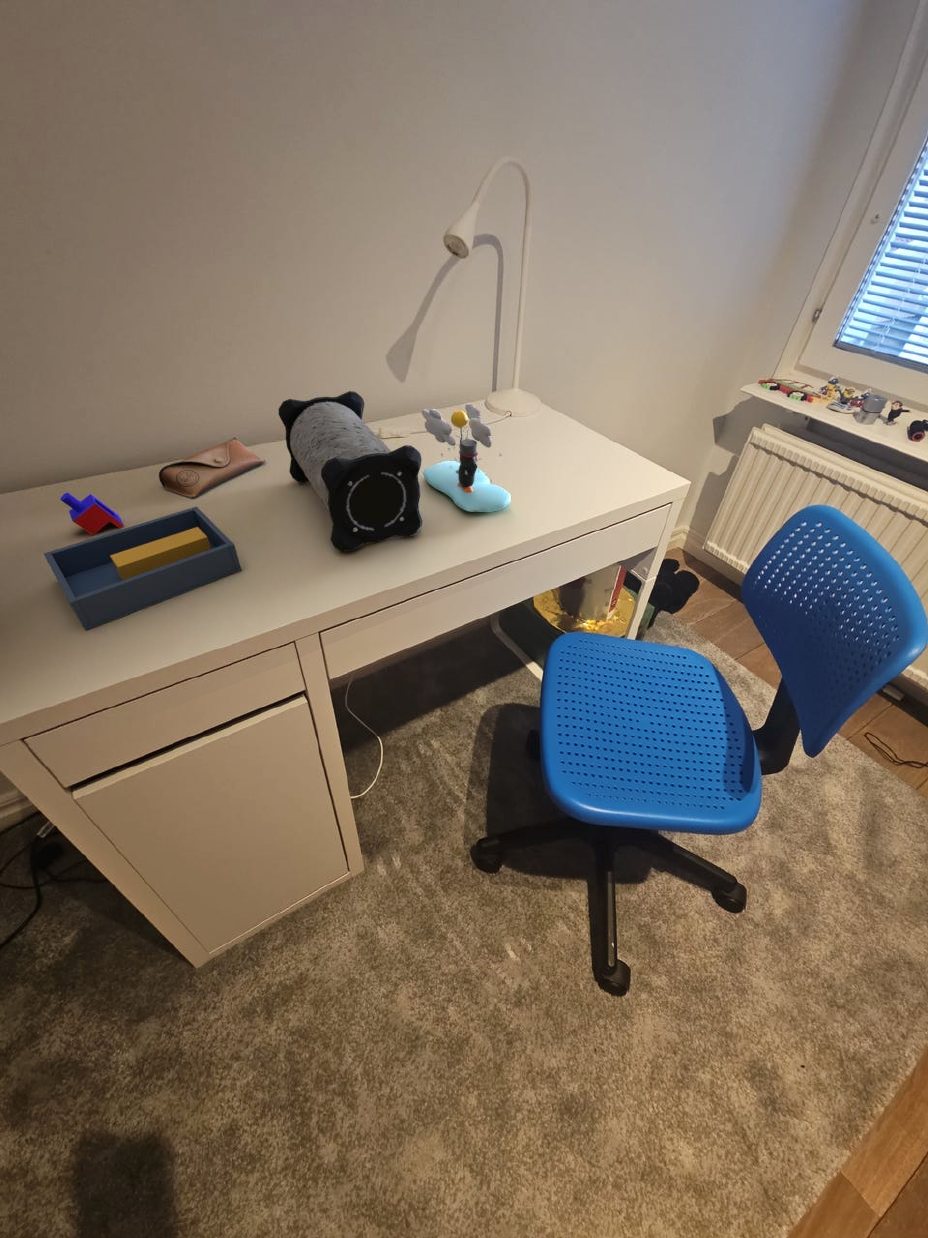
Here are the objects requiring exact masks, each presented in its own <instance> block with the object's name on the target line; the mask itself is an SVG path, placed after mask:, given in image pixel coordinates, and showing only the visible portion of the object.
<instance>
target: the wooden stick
mask: <svg viewBox="0 0 928 1238" xmlns="http://www.w3.org/2000/svg"><path fill="white" fill-rule="evenodd" d="M210 549H211V547H210V544H209V541H208V538H207V536H206V535H205V534H204V533H203V532H202V531H201V530H200V529H199V528H198V527H196V528H193V529H190V530H187V531H184V532H181V533H177V534H174V535H171V536H168V537H165V538H162V539H159V540H156V541H153V542H150V543H147V544H144V545H141V546H138V547H135V548H132V549H129V550H126V551H123V552H119V553H116V554H113V555H110V557H111V559H112V561H113V563H114V565H115V567H116V569H117V572H118V574H119V576H120V577H121V579H122V580H126V579H128V578H131V577H134V576H137V575H140V574H143V573H145V572H148V571H151V570H154V569H157V568H159V567H162V566H165V565H168V564H171V563H174V562H176V561H179V560H182V559H185V558H188V557H191V556H193V555H196V554H199V553H202V552H205V551H208V550H210Z"/></svg>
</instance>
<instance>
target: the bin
mask: <svg viewBox="0 0 928 1238" xmlns="http://www.w3.org/2000/svg"><path fill="white" fill-rule="evenodd" d="M196 527H198V528H199V529H200V530H201V531H202V532H203V533H204V534H205V535H206V536H207V538H208V541H209V544H210V547H211V549H210V550H208V551H205V552H202V553H199V554H196V555H193V556H191V557H188V558H185V559H182V560H179V561H176V562H174V563H171V564H168V565H165V566H162V567H159V568H157V569H154V570H151V571H148V572H145V573H143V574H140V575H137V576H134V577H131V578H128V579H126V580H122V579H121V577H120V576H119V574H118V572H117V569H116V567H115V565H114V563H113V561H112V559H111V557H110V555H113V554H116V553H119V552H123V551H126V550H129V549H132V548H135V547H138V546H141V545H144V544H147V543H150V542H153V541H156V540H159V539H162V538H165V537H168V536H171V535H174V534H177V533H181V532H184V531H187V530H190V529H193V528H196ZM43 556H44V557H45V559H46V561H47V563H48V565H49V567H50V569H51V571H52V573H53V575H54V576H55V579H56V580H57V582H58V584H59V586H60V588H61V590H62V592H63V593H64V595H65V597H66V599H67V601H68V604H69V605H70V606H71V608H72V610H73V612H74V614H75V615H76V617H77V618H78V621H79V623H80V624H81V625H82V627H83V629H84V630H85V631H89V630H91V629H95V628H96V627H100V626H101V625H104V624H107V623H110V622H112V621H114V620H117V619H121V618H123V617H125V616H127V615H131V614H133V613H136V612H138V611H141V610H144V609H147V608H148V607H151V606H153V605H154V606H155V605H156V604H160V603H161V602H162V603H163V601H167V600H170V599H172V598H174V597H177V596H180V595H182V594H185V593H188V592H190V591H192V590H195V589H198V588H200V587H202V586H206V585H208V584H211V583H213V582H215V581H218V580H221V579H223V578H226V577H229V576H231V575H234V574H237V573H239V572H241V571H242V566H241V562H240V559H239V556H238V553H237V549H236V546H235V543H234V542H233V541H232V540H231V539H230V538H229V537H227V535H226V534H225V533H224V532H223V531H222V530H221V529H220V528H219V527H218V526H217V525H216V524H215V523H214V522H213V521H212V520H211V519H210V518H209V517H208V516H207V515H206V514H205V513H204V512H203V511H202V510H201V509H200V508H199V507H198V506H193V507H190V508H187V509H183V510H180V511H177V512H174V513H170V514H167V515H163V516H161V517H158V518H154V519H150V520H148V521H145V522H141V523H138V524H135V525H132V526H128V527H125V528H122V529H121V528H120V529H119V530H115V531H112V532H109V533H105V534H103V535H99V536H96V537H92V538H90V539H89V538H88V539H86V540H83V541H80V542H76V543H73V544H70V545H67V546H63V547H60V548H56V549H54V550H51V551H47V552H44V553H43Z"/></svg>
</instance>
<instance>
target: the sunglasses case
mask: <svg viewBox="0 0 928 1238" xmlns="http://www.w3.org/2000/svg"><path fill="white" fill-rule="evenodd" d="M265 462H266V460H265V459H262V458H260V457H259V456H258V455H257V454H255V453H254V452H253V451H251V450H250V449H249V448H247V447H246V446H245V445H244V444H242V442H240V441H238V439H237V437H232V438H230V439H228V440H226V441H225V442H223V443H220V444H217V445H215V446H212V447H210V448H207V449H204V450H202V451H199V452H197V453H196V454H193V455H191V456H189V457H187V458H183V459H182V460H180V461H177V462H173V463H170V464H167V465H165V466H163V467H162V468H161V469H160V470H159V472H158V480H159V482H160V483H161V486H162V487H163V489H165V490H167V491H169V492H171V493H173V494H176V495H179V496H183V497H186V498H196V497H198V496H200V495H202V494H203V493H204V492H206V491H208V490H210V489H213V488H214V487H217V486H219V485H221V484H222V483H225V482H227V481H230V480H231V479H233V478H237V477H238V476H241V475H242V474H245V473H248V471H250V470H252V469H254V468H256V467H258V466H259V465H261V464H263V463H265Z"/></svg>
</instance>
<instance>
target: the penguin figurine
mask: <svg viewBox="0 0 928 1238" xmlns="http://www.w3.org/2000/svg"><path fill="white" fill-rule="evenodd" d="M461 408H462V406H461V407H460V408H458V409H459V410H455V411H453V413H452V414H451V416H450V422H451V424H452V425H453V426H454V427H455V428H457V429H460V436H459V435H456V433H454V435H455V436H457V437H458V438H459V444H456V440H455V438H454V436H452V431H453V429H452V426H451V425H450V424H449V423H448V421H446V420H445V419H444V418H443V415H442V413H441V412H440V411H439V410H438V409H435V408H430V409H426V408H422V410H421V415H422V417H423V418H424V419H425V421H424V429H425V430H426V432H428V433H429V434H431V435H433V436H434V438H435V440H436V441H437V442H438V443H441V444H443V443H444V444H445V443H446V444H448V445H449V446H447V449H448V451H451V448H450V446H451V447H452V449H453V450H456V447H455V446H456V445H457V446H458V447H459V451H458V454H459V460H458V458H457V457H454V460H444V461H440V462H438V463H435V464H433V465H431V466H428V467H426V468H423V469H424V470H422V475H423V477H424V479H425V480H426V482H427V483H428V484H429V485H430V486H432V487H433V488H435V489H436V490H437V491H440V492H441V493H443V494H445V495H447V496H448V497H449V498H451V499H452V501H453V503H454V504H455V505H456V506H457V507H458V508H460V509H462V510H463V511H466V512H471V513H472V512H473V513H474V512H475V513H478V512H481V513H492V512H497V511H500V510H504V508H506V507H508V506H509V505H510V503H511V500H512V496H511V494H510V493H509V492H508V491H507V490H506V489H504V488H503V487H501V486H499V485H496V484H493V483H490V482H493V481H492V479H489V477H488V476H487V473H486V472H483V471H482V470H481V469H479V468H478V464H477V462H478V461H481V460H482V458H479V457H478V454H479V453H478V442H480V444H481V445H483V446H484V447H486V448H488V449H489V448H491V447H492V439H491V436H492V429H491V428H490V427H489V426H488V425H487V424H485V423H484V422H482V419H481V416H482V415H481V410H480V409H479V408H477V407H476V406H474V405H473V404H471V403H466V404H465V406H464V409H465V411H463V410H462V409H461ZM467 424H468V425H467ZM466 425H467V426H466ZM465 427H466V428H467V427H469V429H470V434H471V437H472V439H470V438H469V437H468V435H469V431H466V436H465V439H464V434H463V432H464V431H465V429H466V428H465ZM463 428H464V429H463ZM498 455H499V456H502V453H501V452H499V454H498ZM440 456H441V458H443V456H444V453H440Z"/></svg>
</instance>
